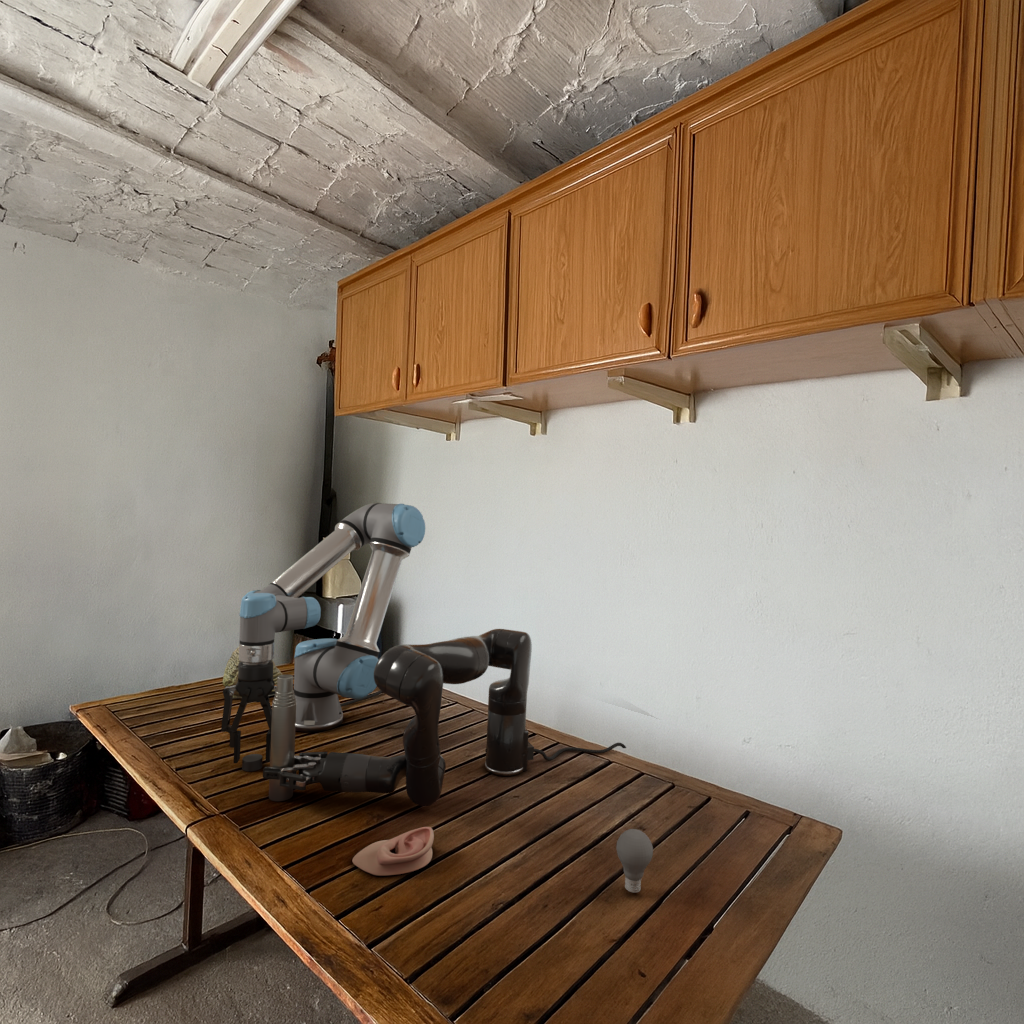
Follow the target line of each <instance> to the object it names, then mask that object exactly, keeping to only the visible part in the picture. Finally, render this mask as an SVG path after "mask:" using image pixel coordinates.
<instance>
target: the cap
mask: <svg viewBox="0 0 1024 1024" xmlns="http://www.w3.org/2000/svg"><path fill="white" fill-rule="evenodd" d="M263 758H264V757H263V755H262V754H259V753H250V754H246V755H245V756H243V757H242V758H241V759H242V760H241V762H242V763H241V770H242V771H243V772H257V771H259V770H261V769H262V768H263Z"/></svg>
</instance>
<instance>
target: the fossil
mask: <svg viewBox="0 0 1024 1024" xmlns="http://www.w3.org/2000/svg"><path fill="white" fill-rule="evenodd" d="M272 661H273V681H274V683H275V685H277V677H278V676H280V675H283V673H282V672H281V669H279V668H278V667H277V665H276V663H275V662H274V660H273V659H272ZM240 662H241V661H240V660H239V646H238V647H237V648H236V649H235V650H233V651H232V653H231V656H230V657H229V659H228V660H227V663H226V666H225V668H224V671H223V675H222V676H223V677H222V685H223V687H224V689H225V688H226V687H227V686H234V685H236V684H237V682H238V664H239V663H240ZM268 696H269V697H271V696H275V691H274V690H272V691H271V693H270V694H269V695H268ZM233 699H242V697H241V696H240V694H239V693H238V692H237V690H235V694H234V695H233Z"/></svg>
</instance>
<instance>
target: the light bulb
mask: <svg viewBox="0 0 1024 1024" xmlns="http://www.w3.org/2000/svg"><path fill="white" fill-rule="evenodd" d="M615 849H616V854H617V857H618V859H619V861H620V863H621V865H622V867H623V873H624V874H623V875H624V876H625V878H624V888H625V890H627V891H628V892H630V893H634V894H635V893H639V892H640V891H641V889H642V887H641V886H642V879H643V877H644V875H645V871H646V868H647V867H648V866H649V864H650V863H651V861H652V859H653V855H654V847H653V843H652V841H651V838H649V836H648V835H647V834H646V833H645V832H643V831H642V830H641V829H636V828H629V829H627V830H625V831H623V832H622V833H621V834H620V835H619V837H618V839H617V841H616V847H615Z"/></svg>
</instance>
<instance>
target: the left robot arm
mask: <svg viewBox="0 0 1024 1024" xmlns="http://www.w3.org/2000/svg"><path fill="white" fill-rule="evenodd" d="M425 535H426V522H425V519H424V517H423V514H422V512H421V511H420V510H419V509H418V508H417V507H416V506H414V505H410V504H405V503H385V502H383V503H382V502H372V503H367V504H365V505H363V506H361V507H359V508H357V509H356V510H354V511H352V512H351V513H349V514H348V515H347V516H345V517H344V518H343V519H341V520H340V521H339V522H338V523H336V524H335V526H334V530H333V531H332V532H331V533H330V534H329V535H327V536H326V537H325V538H324V539H322V540H321V541H320V542H319V543H318V544H316V545H315V546H314V547H313V548H312V549H310V550H309V551H308V552H307V553H305V554H304V555H302V556H301V558H299V559H298V560H297V561H296V562H294V563H293V564H292V565H291V566H290V567H288V568H287V569H286V570H284V571H283V572H282V573H281V574H280V575H279V576H277V577H276V578H275V579H273V580H272V581H271V582H270V583H268V584H267V585H266V586H265V587H264V588H262V589H261V590H260V589H256V590H255V589H253V590H249V591H248V592H247V593H246V594H245V595H243V596H242V598H241V600H240V608H239V609H240V610H239V642H238V647H239V660H240V661H241V662H240V663H239V664H238V682H237V684H236V685H234V686H227V687H226V688H225V687H224V689H223V690H222V694H223V699H224V701H223V710H222V718H221V727H220V731H221V732H223V733H225V732H226V733H228V734H229V748H231V749H233V764H238V763H239V761H240V759H241V743H242V742H241V741H242V740H241V739H242V737H241V736H242V730H238V729H239V726H240V723H241V720H242V718H243V715H244V713H245V711H246V708H247V705H248V703H260V706H261V708H262V711H263V714H264V717H265V720H266V724H267V727H268V731H267V733H266V736H265V737H266V738H265V759H264V760H265V763H270V750H271V723H272V704H271V702H270V701H271V700H270V696H268V695H269V694H270V693H271V691H272V690H274V691H275V694H276V691H277V685H275V683H274V681H273V661H274V660H273V659H274V658H275V636H276V634H277V633H284V632H290V631H295V630H302V629H303V630H305V629H308V628H311V627H315V626H316V625H317V624H318V623H319V621H320V619H321V612H322V608H321V605H320V603H319V601H318V600H317V599H316V598H315V597H313V596H301V595H302V594H304V593H305V592H306V591H307V590H309V588H311V587H312V586H313V585H314V584H315V583H316V582H318V581H319V580H320V579H321V578H322V577H324V576H325V575H326V574H327V573H328V572H329V571H331V570H332V569H333V568H334V567H335V566H336V565H337V564H339V563H340V562H341V561H342V560H343V559H345V558H346V557H347V556H348V555H349V554H350V553H352V552H353V551H354V552H355V551H359V550H360V549H361V548H363V547H364V546H365V545H369V547H370V549H371V554H370V557H369V560H368V564H367V567H366V570H365V573H364V576H363V579H362V582H361V585H360V589H359V591H358V594H357V597H356V600H355V603H354V607H353V610H352V612H351V613H352V614H351V615H350V619H349V622H348V624H347V627H346V631H345V634H344V635H343V636H341V637H340V638H338V639H337V638H331V637H329V638H317V639H316V638H315V639H308V640H304V641H300V642H299V643H298V644H297V645H296V646H295V650H294V651H295V652H294V655H293V658H294V672H293V678H294V679H293V690H294V693H295V699H296V727H295V732H301V733H316V732H325V731H329V730H332V729H335V728H337V727H339V726H340V725H342V723H343V722H344V713H343V709H342V707H346V706H350V705H353V704H356V703H359V702H362V701H364V700H365V701H366V700H368V699H371V698H374V697H375V698H376V697H378V696H379V695H381V694H382V693H383V692H382V691H381V690H380V689H379V690H378V691H377V692H374V691H375V690H376V688H378V687H377V685H376V683H375V681H374V669H375V666H376V664H377V662H378V660H379V655H380V649H379V647H378V645H377V642H378V639H379V636H380V633H381V630H382V627H383V623H384V619H385V616H386V614H387V611H388V607H389V604H390V601H391V597H392V593H393V591H394V587H395V584H396V581H397V578H398V575H399V572H400V568H401V565H402V563H403V560H404V559H406V558H408V557H410V554H411V551H412V549H413V548H415V547H417V546H419V545H420V544H421V543H422V541H424V538H425ZM300 596H301V597H300ZM272 660H273V661H272ZM235 690H237V692H238V693H239V694H240V696H241V697H242V698H240V699H241V700H240V703H239V704H238V705H239V706H238V708H237V711H236V713H235V716H234V718H233V720H232V724H231V715H232V708H233V699H234V698H233V695H234V694H235ZM373 692H374V693H373ZM339 696H341V697H342V698H346V699H352V700H348V701H345V702H342V703H341V702H340V699H339Z"/></svg>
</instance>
